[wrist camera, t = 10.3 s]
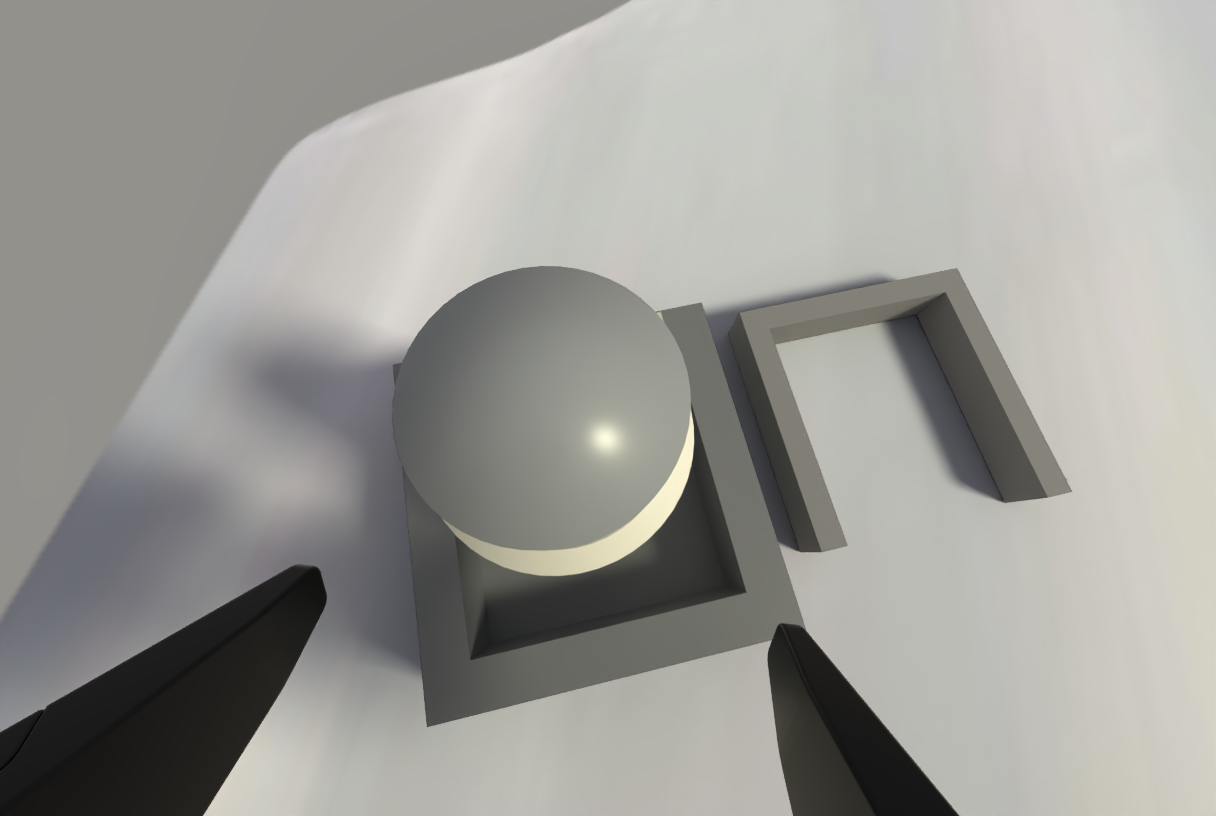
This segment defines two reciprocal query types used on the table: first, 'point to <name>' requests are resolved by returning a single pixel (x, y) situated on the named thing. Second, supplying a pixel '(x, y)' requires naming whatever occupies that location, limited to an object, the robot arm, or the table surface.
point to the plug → (546, 419)
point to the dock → (609, 578)
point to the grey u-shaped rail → (962, 356)
